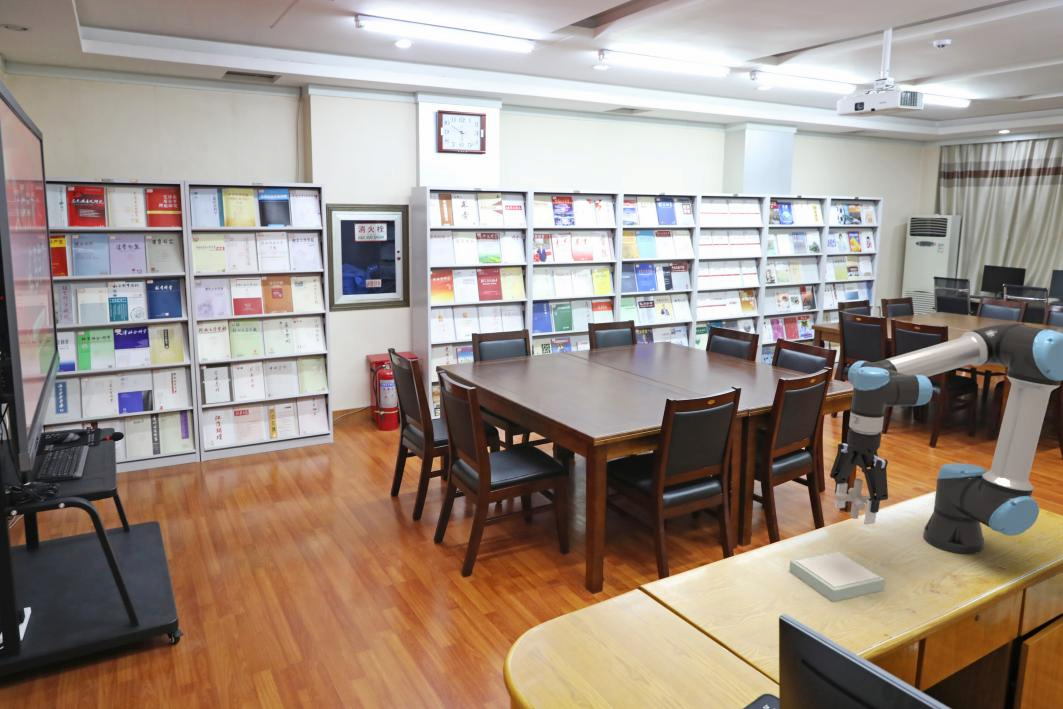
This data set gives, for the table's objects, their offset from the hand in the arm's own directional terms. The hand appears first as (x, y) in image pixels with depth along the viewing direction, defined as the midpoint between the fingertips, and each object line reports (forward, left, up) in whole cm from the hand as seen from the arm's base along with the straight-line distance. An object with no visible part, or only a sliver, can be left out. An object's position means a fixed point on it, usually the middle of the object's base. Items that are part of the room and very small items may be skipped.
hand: (854, 515), depth 187 cm
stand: (+2, -1, -18) cm, 18 cm away
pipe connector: (0, 0, -1) cm, 1 cm away
